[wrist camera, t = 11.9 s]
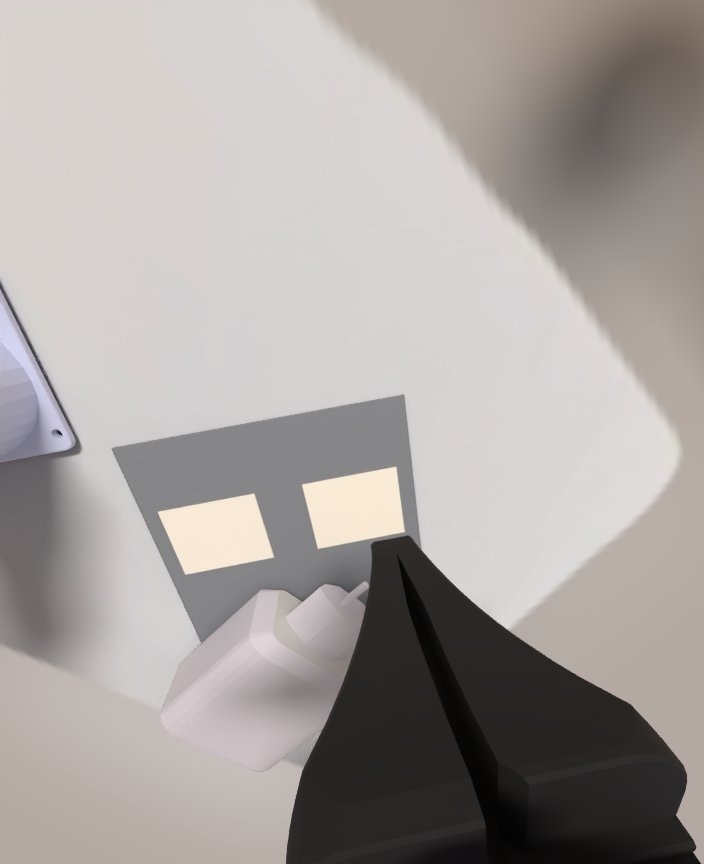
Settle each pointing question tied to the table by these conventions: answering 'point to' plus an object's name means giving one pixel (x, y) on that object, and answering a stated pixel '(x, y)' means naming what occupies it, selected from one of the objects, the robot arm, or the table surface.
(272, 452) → the label mat
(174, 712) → the charger
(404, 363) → the table surface
